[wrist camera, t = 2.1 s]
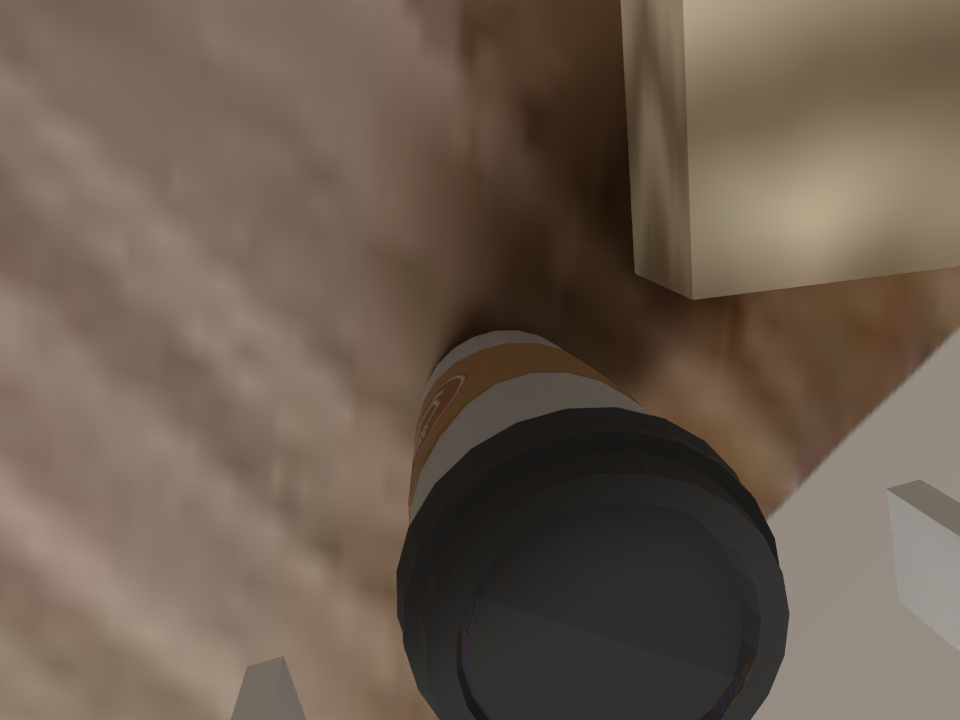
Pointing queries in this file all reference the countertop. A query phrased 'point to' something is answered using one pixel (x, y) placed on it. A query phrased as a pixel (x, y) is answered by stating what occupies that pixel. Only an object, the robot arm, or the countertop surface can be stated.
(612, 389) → the coffee cup
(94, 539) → the countertop surface
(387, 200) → the countertop surface
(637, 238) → the maple block
